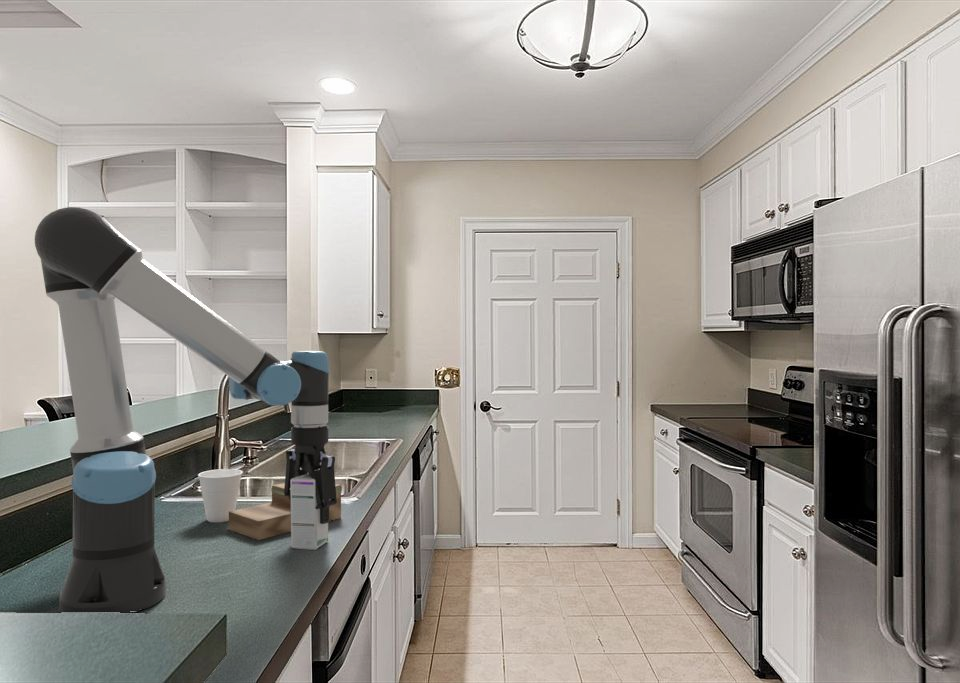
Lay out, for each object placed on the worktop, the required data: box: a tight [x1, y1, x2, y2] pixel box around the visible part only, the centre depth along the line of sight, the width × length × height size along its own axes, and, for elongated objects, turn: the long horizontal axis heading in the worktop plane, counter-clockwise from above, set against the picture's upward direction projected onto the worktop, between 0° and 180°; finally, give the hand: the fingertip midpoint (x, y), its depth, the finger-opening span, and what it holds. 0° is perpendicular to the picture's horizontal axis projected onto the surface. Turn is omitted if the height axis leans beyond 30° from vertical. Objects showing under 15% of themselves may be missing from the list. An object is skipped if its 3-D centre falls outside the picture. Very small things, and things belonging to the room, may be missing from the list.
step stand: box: [228, 482, 343, 541], centre depth 151 cm, size 22×13×8 cm, turn 141°
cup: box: [197, 468, 244, 524], centre depth 154 cm, size 10×10×11 cm
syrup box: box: [290, 474, 329, 551], centre depth 135 cm, size 6×6×14 cm
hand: (309, 534), depth 135 cm, fingers closed on syrup box, 7 cm apart
